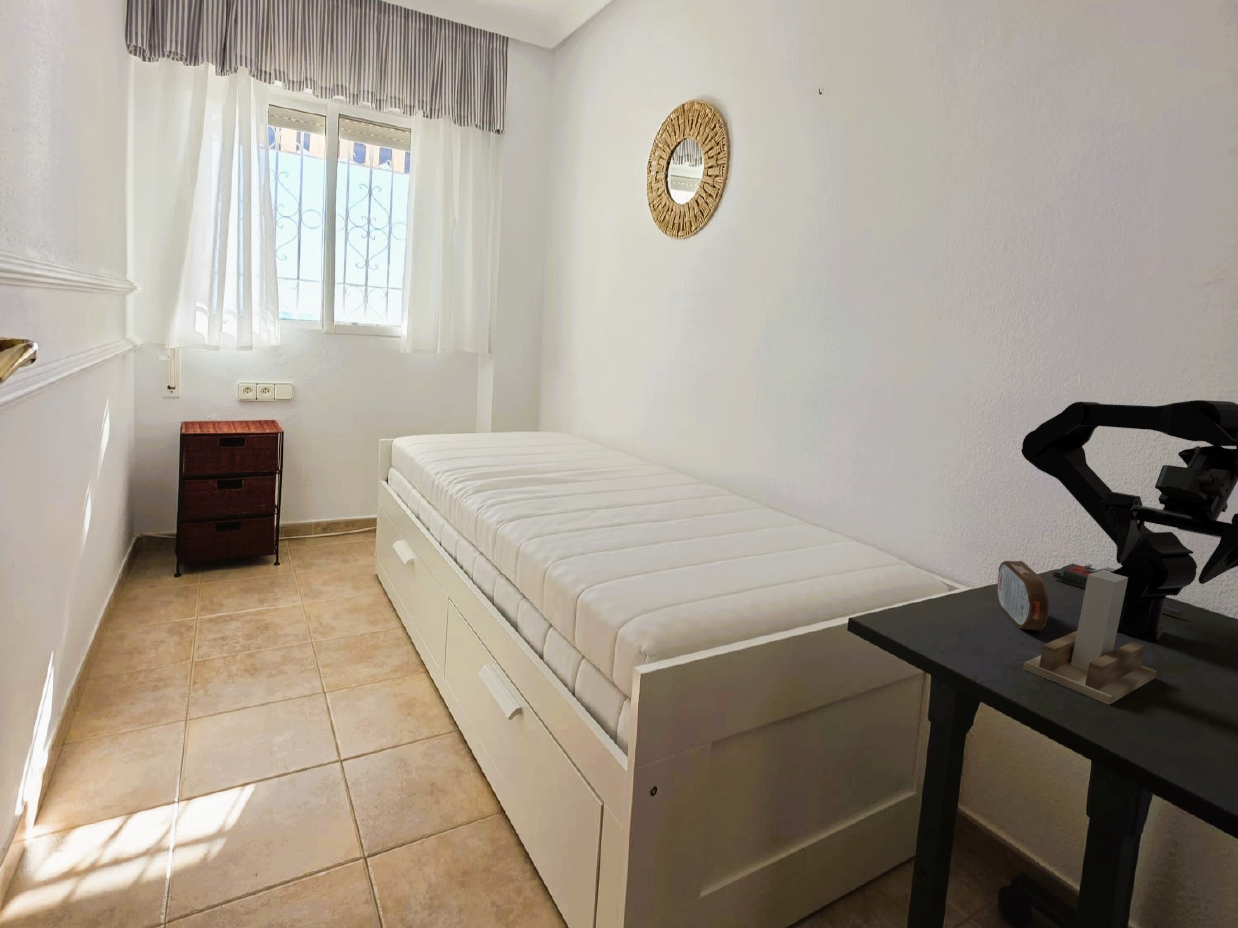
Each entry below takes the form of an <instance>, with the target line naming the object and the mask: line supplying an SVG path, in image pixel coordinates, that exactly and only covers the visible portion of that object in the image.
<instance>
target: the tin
mask: <svg viewBox="0 0 1238 928" xmlns="http://www.w3.org/2000/svg"><path fill="white" fill-rule="evenodd" d="M997 577H998V578H997V586H996V595H997V601H998V604H999V606H1000V607H1001V609H1002V610H1003V611H1004V613H1005V615H1007V616H1008V617H1009V619H1010V620H1011V621H1012V622H1013V623H1014V624H1015V626H1016V627H1017V628H1019V629H1021V630H1025V631H1026V630H1027V631H1028V630H1029V631H1036V632H1041V631H1042V630H1044V628H1045V626H1046V624H1047V621H1048V617H1049V596H1048V591H1047V586H1046V584H1045V582H1044V581H1045V580H1043V578H1042V577H1041V576H1040V575H1039V574H1037V573H1036V572H1035V571H1034V570H1033V569H1032V568H1031V567H1029V566H1028V565H1027V564H1026V563H1025V562H1024V561H1023V560H1004V561H1002V562H1001V563H1000V565H999V567H998V576H997Z"/></svg>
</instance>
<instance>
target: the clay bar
mask: <svg viewBox="0 0 1238 928" xmlns="http://www.w3.org/2000/svg"><path fill="white" fill-rule="evenodd" d="M1127 581H1128V577H1125V576H1121V575H1118V574H1114V573H1111V572H1109V571H1105V570H1101V571H1098V572H1095V573H1092V574H1089V575H1088V579H1087V584H1086V589H1084V590H1085V591H1084V594H1083V600H1082V605H1081V611H1080V615H1079V621H1078V625H1077V630H1076V631H1077V635H1076V640H1075V645H1074V651H1073V656H1072V661H1071V665H1072V666H1074V667H1077V668H1079V669H1082V670H1084V671H1087V672H1088V667H1089V663H1090V662H1092V661H1094V660H1096V659H1098V658H1100V657H1102V656H1104V655H1106V654H1108V653H1110V652H1112V651H1114V647H1115V642H1116V638H1117V634H1118V631H1117V629H1118V625H1119V620H1120V615H1121V610H1122V605H1123V600H1124V595H1125V591H1126V586H1127Z"/></svg>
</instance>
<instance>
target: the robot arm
mask: <svg viewBox="0 0 1238 928" xmlns="http://www.w3.org/2000/svg"><path fill="white" fill-rule="evenodd" d="M1098 427H1105V428H1106V427H1109V428H1121V429H1135V430H1136V429H1137V430H1148V431H1153V432H1154V431H1155V432H1159V433H1162V434H1164V435H1167V436H1170V437H1174V438H1178V439H1182V440H1187V441H1189V442H1205V443H1208V444H1209V445H1207V446H1204V445H1203V446H1200V445H1197V446H1194V447H1192V448H1186V449H1184V450H1183V449H1182V450H1181V451H1179V452H1178V453H1177V456H1179V458H1180V459H1181V460H1182V462H1183V463H1184V464H1185V465H1186V466H1178V465H1171V464H1164V465H1162V467H1161V469H1160V472H1159V474H1158V476H1157V480H1156V482H1155V486H1154V488H1155V489H1156V490H1158V491H1159V492H1160V494H1159V497H1158V499H1157V500H1158V502H1159V504H1160V505H1163V507H1162V509H1161V508H1156V507H1149V506H1145V505H1143V502H1142V499H1141V496H1139V495H1135V494H1129V493H1122V492H1118V491H1113V490H1112V489H1111V488H1110V487H1109V486H1108V485H1107V483H1105V482H1104V481H1103V479H1102V478H1101V477H1100V476H1098V475H1097V473H1096V472H1095V471H1094V470H1093V469H1092V468H1091V466H1089V465H1088V463H1087V457H1086V451H1085V449H1084V447H1083V446H1085V445H1086V444H1087V443H1088V442H1089V441H1090V440H1091V438H1092V436H1093V434H1094V432H1095V430H1096V429H1097V428H1098ZM1021 447H1022V448H1021V453H1022V455H1023V458H1024V459H1025V460H1026V461H1027V462H1029V463H1030V464H1031V465H1032V466H1034V467H1035V468H1036V469H1037V470H1039V471H1041V472H1043V473H1045V474H1047V475H1049V476H1051V477H1053V478H1055V479H1057V480H1058V481H1059V482H1060V483H1061V484H1062V485H1063V487H1065V489H1066V490H1067V491H1068V492H1069V493H1070V495H1072V497H1073V498H1074V499H1075V500H1076V501H1077V502H1078V504H1079V505H1080V506H1081V507H1082V508H1083V509H1084V510H1085V511H1086V513H1087V514H1089V516H1090V517H1091V518H1092V519H1093V520H1094V521H1095V523H1096V524H1097V525H1098V526H1099V527H1100V528H1101V529H1102V530H1103V531H1104V533H1105V534H1106V536H1108V537H1109V538H1110V540H1111V541H1112V542H1113V543H1114V544H1115V546H1116V557H1115V558H1116V562H1117V564H1120V565H1121V566H1120V567H1119V568H1115V569H1116V570H1114V571H1112V572H1110V573H1114V574H1118V575H1121V576H1125V577H1128V581H1127V586H1126V591H1125V595H1124V600H1123V605H1122V610H1121V615H1120V620H1119V625H1118V629H1117V632H1120V633H1125V634H1127V635H1132V636H1135V637H1139V638H1142V639H1146V640H1149V641H1153V642H1158V641H1159V639H1160V638H1161V637H1162V636H1163V633H1164V631H1165V628H1164V627H1162V626H1160V625H1161V621H1162V616H1163V613H1164V611H1163V608H1164V606H1165V602H1166V597H1168V596H1173V597H1174V596H1178V595H1180V593H1181V591H1182V590H1183V589H1184V588H1185V587H1187V586H1189V585H1192V583H1193V582H1194V581H1195V578H1196V576H1197V568H1198V565H1197V562H1196V560H1195V559H1194V557H1193V556H1192V554H1194V551H1193V550H1191V549H1189V548H1187V546H1185V545H1184V544H1183V543H1182V542H1181V541H1180V539H1179V537H1177V535H1176V534H1175V533H1174V532H1172V531H1162V532H1161V531H1160V532H1159V531H1158V532H1156V531H1155V532H1154V531H1153V530H1151V529H1149V528H1148V527H1147V525H1145V524H1146V523H1149V524H1155V525H1160V526H1165V527H1171V528H1176V529H1177V530H1180V531H1184V532H1190V533H1195V534H1199V535H1204V536H1209V537H1214V538H1220V540H1219V542H1218V544H1217V546H1216V548H1215V549H1214V550H1213V552H1212V554H1211V555H1210V556H1209V558H1208V560H1207V561H1206V563H1205V564H1204V565H1203V567H1202V569H1201V571H1200V574H1199V576H1198V579H1197V581H1198V584H1200V585H1204V584H1206V583H1208V582H1209V581H1211V580H1213V579H1215V578H1217V577H1219V576H1221V575H1222V574H1224V573H1226V572H1228V571H1230V570H1232V569H1234V568H1236V567H1238V512H1237V513H1234V514H1233V516H1232V518H1231V522H1225V521H1220V520H1218V519H1219V517H1220V515H1221V514H1222V513H1226V512H1227V510H1228V507H1229V506H1228V500H1229V498H1230V497H1231V495H1232V493H1233V491H1234V489H1235V488H1236V485H1237V483H1238V403H1236V402H1234V401H1229V400H1205V399H1204V400H1201V399H1199V400H1198V399H1195V400H1188V401H1180V402H1179V401H1178V402H1172V403H1168V404H1164V405H1162V404H1161V405H1136V404H1135V405H1134V404H1113V403H1112V404H1111V403H1110V404H1109V403H1099V402H1097V401H1096V402H1095V401H1075V402H1074V403H1071V404H1069V405H1068V406H1067V407H1066V408H1065V409H1064V410H1062V411H1061V412H1060V413H1058V414H1057V415H1055V416H1053V417H1051V418H1049V419H1048V420H1046V421H1044V422H1042V423H1041V424H1039V425H1038V427H1036V429H1034V430H1032V431H1029V432H1028V433H1027V434H1026V435H1025V437H1024V439H1023V441H1022V446H1021ZM1225 447H1235V448H1225Z"/></svg>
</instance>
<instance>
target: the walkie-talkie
mask: <svg viewBox="0 0 1238 928" xmlns="http://www.w3.org/2000/svg"><path fill="white" fill-rule="evenodd" d="M1116 569H1117V568H1112V567H1109V566H1107V567H1103V568H1098V569H1096V568H1093V565H1092V564H1090V563H1088V564H1086V565H1080V564H1076V563H1070V564H1067V565H1063V567H1061V569H1060V570H1061V571H1060V572H1055V571H1054V572H1053V573H1052V577H1053V578H1055V579H1058V580H1059V582H1060V583H1062V582H1064V583H1063V584H1065V583H1066V585H1068V586H1069V585H1070V586H1072V587H1076V586H1078V587H1077V588H1079V587H1081V588H1080V589H1083V588H1084V589H1083V590H1085V589H1086V584H1087V579H1088V575H1089V574H1092V573H1095V572H1098V571H1101V570H1103V571H1107V572H1110V573H1111V572H1112V571H1114V570H1116ZM1163 612H1166V613H1170V614H1173V615H1177V616H1182V614H1183V612H1182V611H1181V610H1179V609H1177V608H1176V609H1175V608H1172V607H1169V606H1165V605H1164V608H1163Z"/></svg>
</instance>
